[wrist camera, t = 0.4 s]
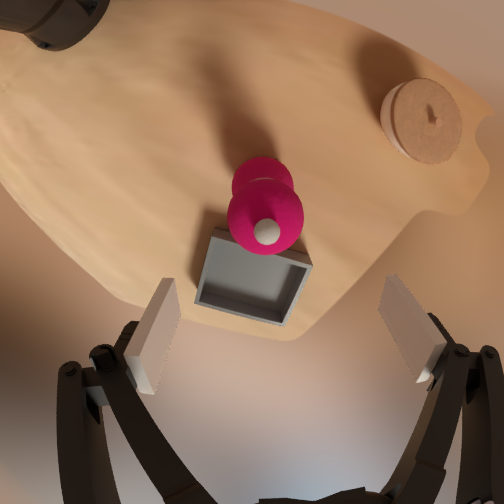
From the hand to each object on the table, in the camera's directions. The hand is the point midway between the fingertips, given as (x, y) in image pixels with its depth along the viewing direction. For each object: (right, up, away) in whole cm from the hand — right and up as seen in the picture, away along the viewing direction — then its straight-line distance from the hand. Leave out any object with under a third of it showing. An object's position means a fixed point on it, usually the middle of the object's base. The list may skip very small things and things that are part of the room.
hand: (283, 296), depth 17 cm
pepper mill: (-1, +12, +20) cm, 23 cm away
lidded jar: (+19, +21, +16) cm, 32 cm away
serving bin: (-2, -1, +26) cm, 26 cm away
